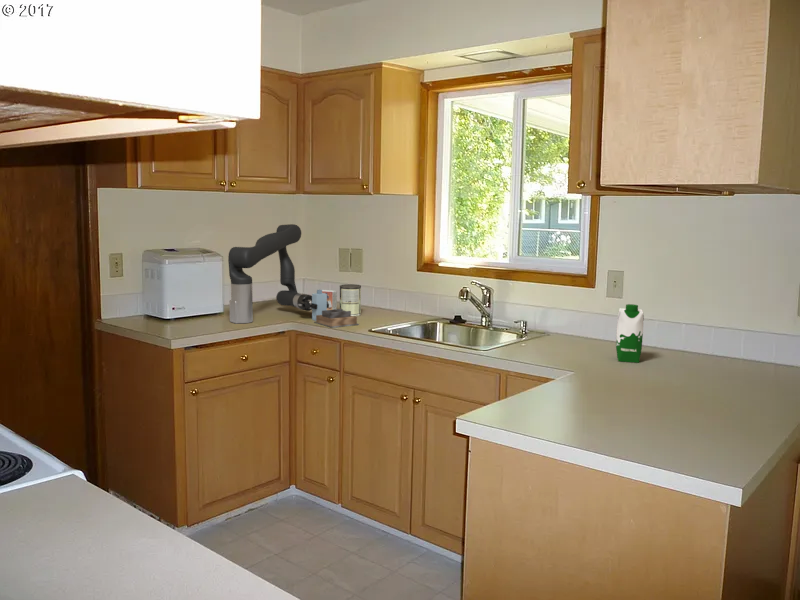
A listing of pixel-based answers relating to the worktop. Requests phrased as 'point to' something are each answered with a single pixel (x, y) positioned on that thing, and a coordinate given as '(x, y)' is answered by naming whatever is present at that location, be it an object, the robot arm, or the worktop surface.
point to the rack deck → (336, 318)
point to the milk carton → (629, 333)
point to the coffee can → (351, 298)
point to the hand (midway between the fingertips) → (322, 306)
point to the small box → (331, 299)
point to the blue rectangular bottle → (319, 303)
